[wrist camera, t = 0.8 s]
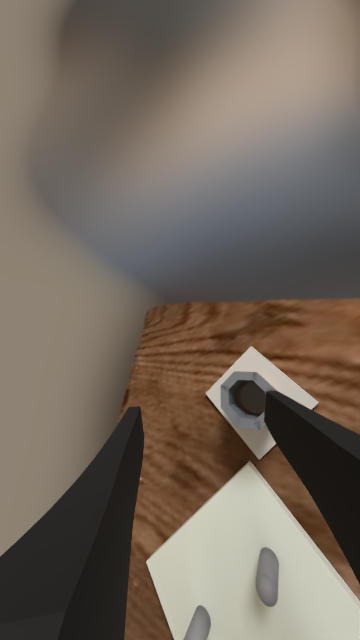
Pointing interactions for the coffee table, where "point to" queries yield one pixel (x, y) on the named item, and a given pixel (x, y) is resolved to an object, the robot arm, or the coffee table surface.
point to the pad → (259, 397)
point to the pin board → (250, 572)
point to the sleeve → (233, 402)
